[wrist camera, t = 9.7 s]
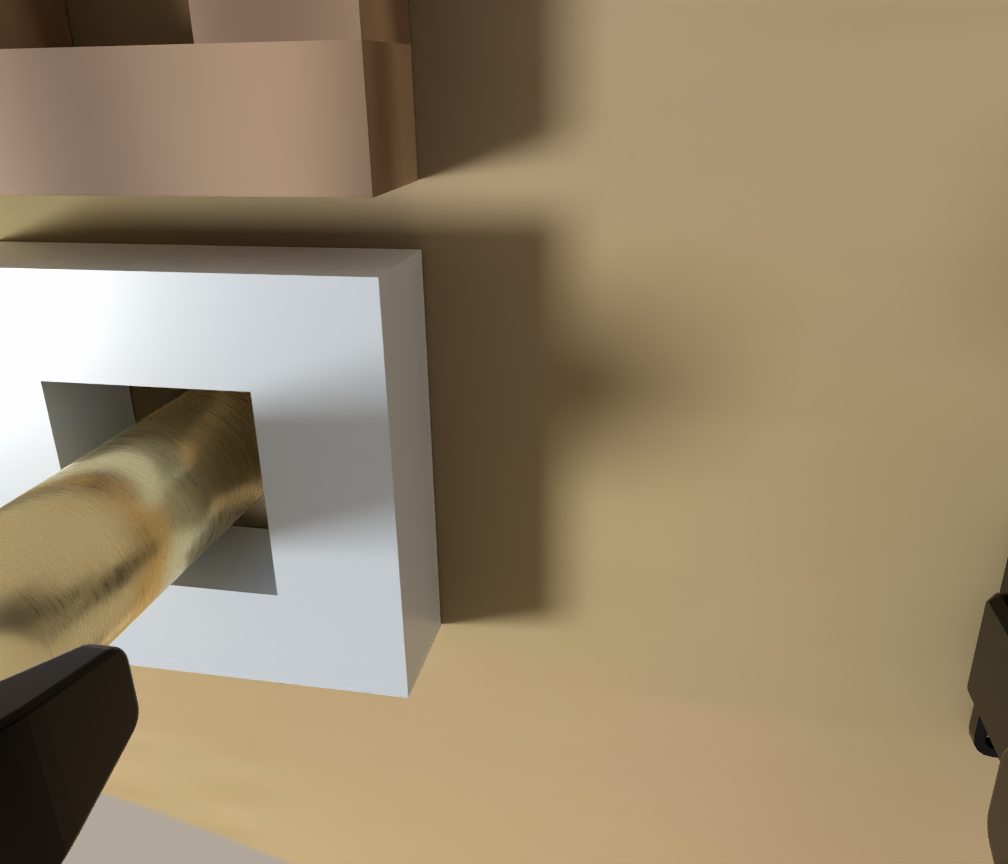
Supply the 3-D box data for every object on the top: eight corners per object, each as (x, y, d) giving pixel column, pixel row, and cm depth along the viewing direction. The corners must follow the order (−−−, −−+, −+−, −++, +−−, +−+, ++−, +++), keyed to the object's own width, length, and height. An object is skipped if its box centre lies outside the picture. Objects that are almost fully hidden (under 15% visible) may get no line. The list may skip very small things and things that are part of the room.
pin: (279, 384, 22) (29, 571, 13) (293, 500, 23) (71, 738, 15) (161, 378, 22) (-147, 554, 14) (180, 491, 23) (-93, 715, 15)
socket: (421, 249, 20) (378, 277, 17) (440, 625, 23) (408, 698, 21) (-7, 241, 22) (-107, 264, 19) (74, 588, 25) (0, 649, 23)
